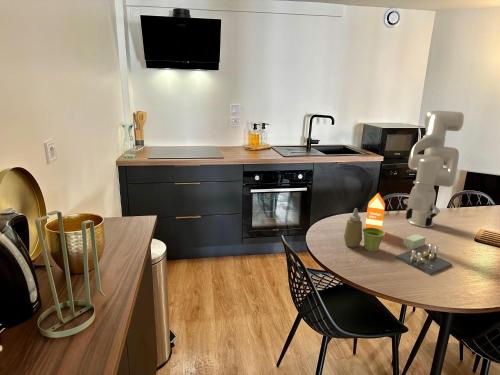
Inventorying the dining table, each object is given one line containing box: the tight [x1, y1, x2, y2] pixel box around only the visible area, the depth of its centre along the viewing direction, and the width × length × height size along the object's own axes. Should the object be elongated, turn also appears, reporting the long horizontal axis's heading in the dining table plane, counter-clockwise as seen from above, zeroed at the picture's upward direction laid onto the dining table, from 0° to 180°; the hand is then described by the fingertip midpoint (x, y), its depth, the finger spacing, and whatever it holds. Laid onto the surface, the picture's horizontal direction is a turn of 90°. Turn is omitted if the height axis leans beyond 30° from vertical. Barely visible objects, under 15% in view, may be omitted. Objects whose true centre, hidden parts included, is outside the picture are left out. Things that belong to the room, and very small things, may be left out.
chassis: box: [395, 243, 453, 276], centre depth 146 cm, size 16×15×6 cm
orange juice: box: [364, 192, 386, 230], centre depth 172 cm, size 8×9×20 cm
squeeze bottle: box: [343, 207, 363, 248], centre depth 158 cm, size 8×8×18 cm
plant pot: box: [362, 227, 386, 252], centre depth 156 cm, size 9×9×9 cm
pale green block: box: [403, 233, 427, 250], centre depth 162 cm, size 4×9×4 cm, turn 120°
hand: (418, 222), depth 158 cm, fingers open, 9 cm apart
